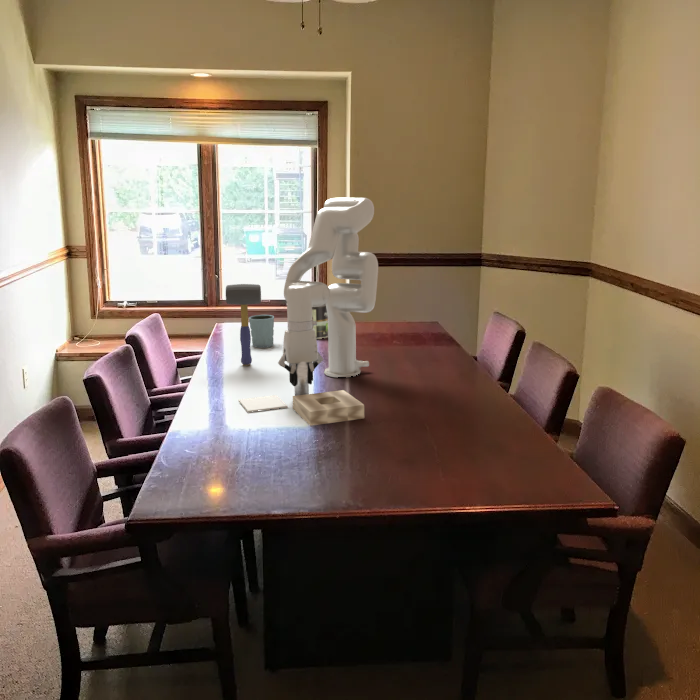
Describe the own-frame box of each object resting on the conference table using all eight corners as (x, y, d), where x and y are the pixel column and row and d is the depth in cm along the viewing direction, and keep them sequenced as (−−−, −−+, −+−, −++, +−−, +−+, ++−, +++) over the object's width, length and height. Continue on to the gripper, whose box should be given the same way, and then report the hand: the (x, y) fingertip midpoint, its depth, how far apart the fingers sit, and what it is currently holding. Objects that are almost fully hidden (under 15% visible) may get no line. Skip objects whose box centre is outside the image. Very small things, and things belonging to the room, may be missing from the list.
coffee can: (328, 334, 312) (328, 302, 309) (327, 339, 302) (327, 306, 299) (305, 334, 312) (304, 303, 309) (303, 339, 302) (302, 306, 299)
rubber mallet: (264, 362, 263) (261, 282, 256) (263, 367, 256) (259, 285, 249) (230, 363, 262) (226, 282, 256) (228, 368, 255) (224, 285, 248)
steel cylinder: (306, 395, 221) (305, 357, 219) (310, 398, 217) (310, 361, 215) (292, 396, 220) (291, 359, 217) (297, 400, 216) (296, 362, 213)
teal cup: (279, 344, 293) (278, 316, 290) (264, 349, 284) (263, 320, 282) (260, 341, 298) (259, 313, 295) (245, 346, 290) (243, 317, 287)
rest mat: (276, 396, 220) (276, 395, 220) (287, 407, 209) (287, 405, 209) (238, 401, 215) (238, 399, 215) (247, 412, 205) (247, 410, 204)
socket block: (343, 402, 213) (343, 390, 212) (364, 418, 199) (364, 404, 198) (292, 409, 207) (292, 396, 207) (310, 425, 193) (310, 411, 192)
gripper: (322, 321, 220) (323, 378, 224) (269, 326, 214) (271, 384, 218) (330, 326, 213) (331, 384, 217) (276, 330, 207) (278, 390, 211)
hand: (301, 383), depth 218 cm, fingers closed on steel cylinder, 4 cm apart
